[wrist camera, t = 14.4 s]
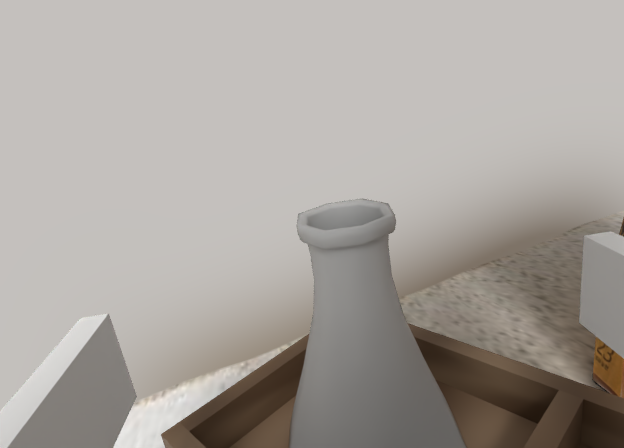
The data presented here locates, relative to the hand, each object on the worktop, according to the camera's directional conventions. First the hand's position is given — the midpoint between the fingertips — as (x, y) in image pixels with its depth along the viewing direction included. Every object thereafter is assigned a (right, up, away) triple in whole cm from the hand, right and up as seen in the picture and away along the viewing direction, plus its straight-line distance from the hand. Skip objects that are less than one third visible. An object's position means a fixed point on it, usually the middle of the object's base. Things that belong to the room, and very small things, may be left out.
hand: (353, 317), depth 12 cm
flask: (+1, -7, +5) cm, 8 cm away
